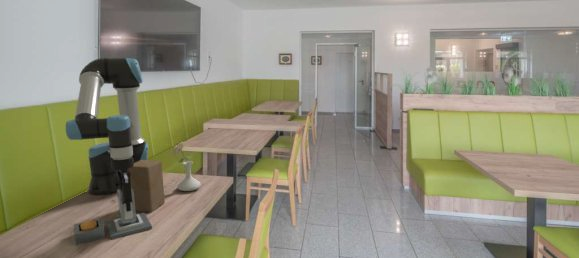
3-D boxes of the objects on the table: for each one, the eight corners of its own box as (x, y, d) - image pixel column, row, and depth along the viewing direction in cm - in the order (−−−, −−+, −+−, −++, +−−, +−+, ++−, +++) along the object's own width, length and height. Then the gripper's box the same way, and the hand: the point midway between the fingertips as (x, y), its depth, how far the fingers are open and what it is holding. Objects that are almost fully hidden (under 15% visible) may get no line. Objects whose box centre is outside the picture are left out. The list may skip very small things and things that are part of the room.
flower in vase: (191, 183, 175) (188, 137, 170) (205, 187, 169) (203, 140, 164) (169, 190, 165) (166, 141, 160) (184, 196, 158) (181, 145, 153)
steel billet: (120, 219, 129) (117, 189, 126) (134, 215, 131) (131, 187, 129) (122, 224, 124) (118, 193, 122) (136, 220, 127) (133, 191, 125)
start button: (81, 230, 122) (80, 222, 121) (96, 226, 124) (95, 218, 124) (81, 235, 117) (80, 227, 117) (97, 231, 120) (96, 224, 120)
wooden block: (151, 212, 140) (147, 167, 137) (130, 210, 142) (126, 165, 139) (165, 203, 150) (161, 160, 146) (145, 201, 152) (141, 159, 148)
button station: (75, 234, 122) (73, 224, 122) (102, 227, 127) (101, 218, 127) (75, 245, 115) (74, 234, 114) (105, 237, 120) (104, 227, 119)
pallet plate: (106, 224, 130) (105, 218, 130) (144, 215, 138) (144, 210, 138) (110, 239, 119) (110, 233, 118) (152, 228, 127) (151, 223, 126)
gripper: (107, 153, 128) (113, 209, 133) (113, 164, 114) (120, 227, 118) (129, 150, 133) (134, 205, 137) (137, 161, 118) (143, 222, 122)
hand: (127, 215), depth 128 cm, fingers closed on steel billet, 5 cm apart
